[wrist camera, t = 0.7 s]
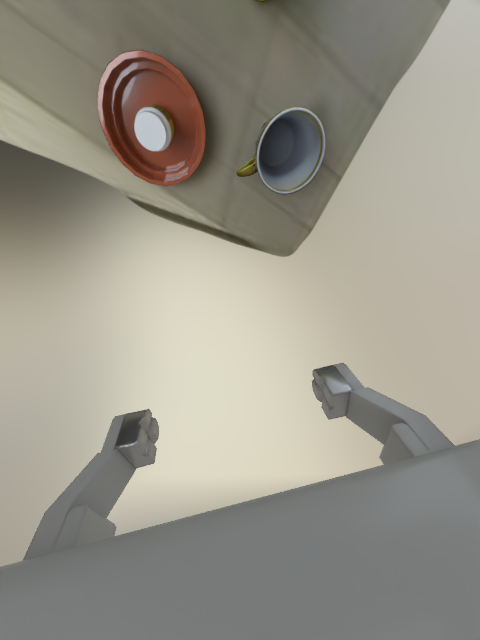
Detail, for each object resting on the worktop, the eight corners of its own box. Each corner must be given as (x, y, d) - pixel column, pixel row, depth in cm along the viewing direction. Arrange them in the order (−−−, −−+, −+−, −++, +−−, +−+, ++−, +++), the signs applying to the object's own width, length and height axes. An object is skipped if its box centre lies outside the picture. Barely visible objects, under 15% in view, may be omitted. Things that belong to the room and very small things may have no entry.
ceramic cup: (299, 92, 34) (325, 92, 27) (305, 165, 41) (326, 180, 34) (221, 126, 36) (226, 135, 29) (240, 191, 43) (247, 210, 36)
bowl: (142, 18, 27) (134, 8, 24) (222, 128, 36) (225, 133, 33) (90, 121, 33) (78, 124, 30) (170, 195, 42) (167, 204, 38)
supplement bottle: (176, 112, 34) (171, 117, 28) (173, 149, 37) (168, 160, 31) (142, 98, 32) (130, 100, 26) (142, 137, 35) (130, 147, 29)
